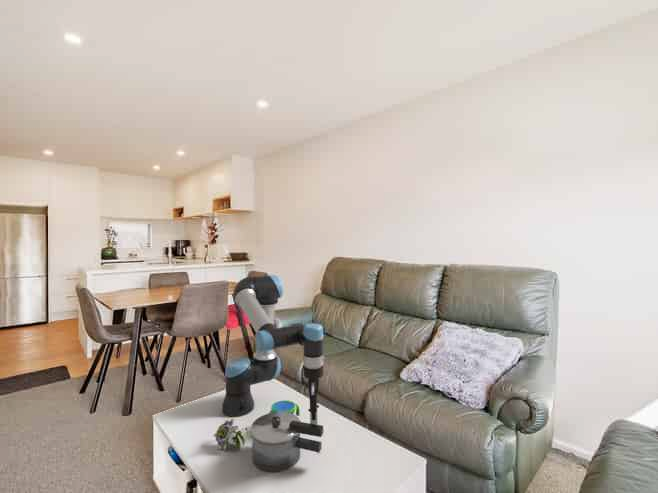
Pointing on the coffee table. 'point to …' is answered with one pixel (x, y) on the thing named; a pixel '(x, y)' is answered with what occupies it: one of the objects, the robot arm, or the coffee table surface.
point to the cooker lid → (281, 428)
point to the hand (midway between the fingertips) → (313, 426)
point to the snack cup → (285, 407)
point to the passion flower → (229, 435)
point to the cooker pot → (281, 453)
